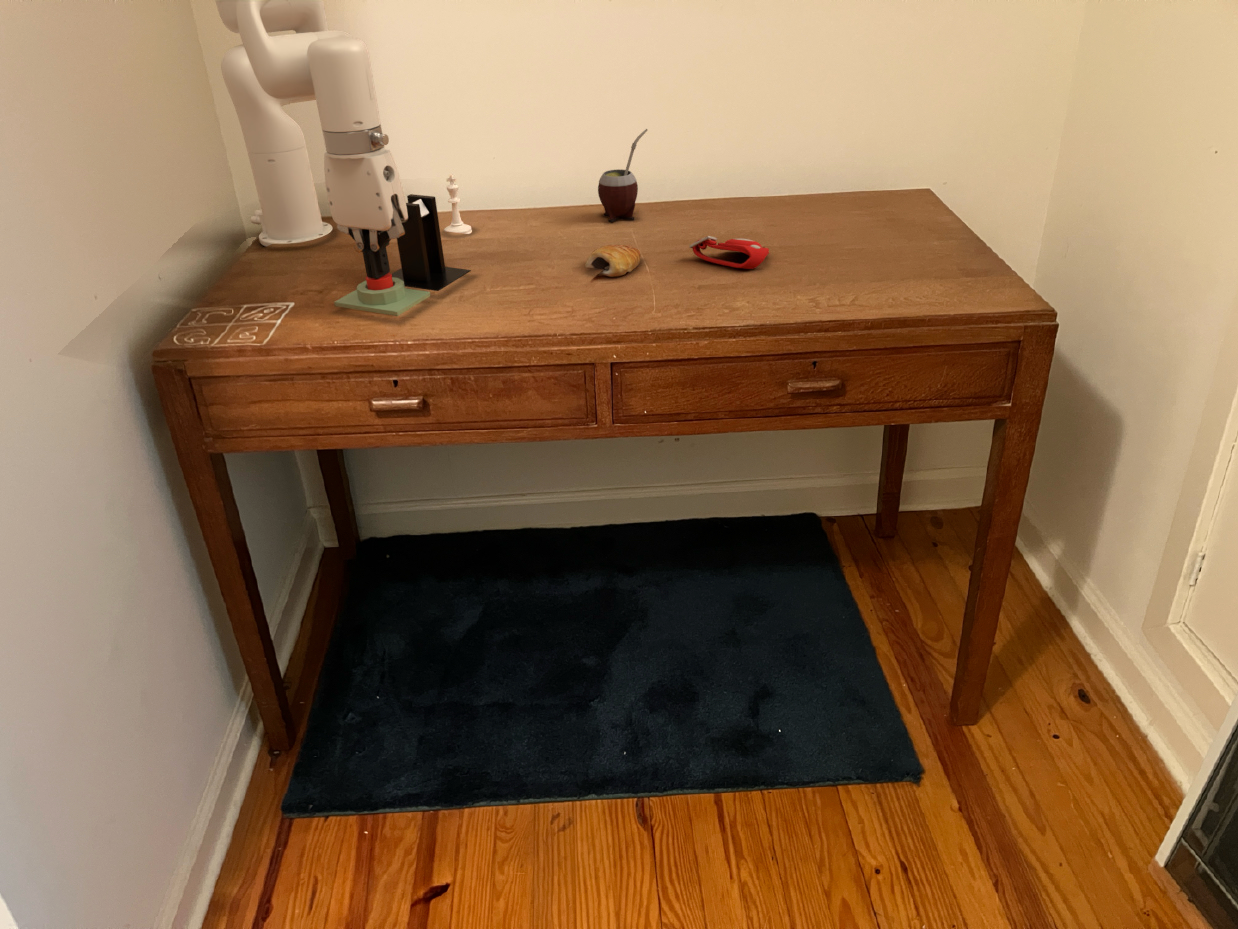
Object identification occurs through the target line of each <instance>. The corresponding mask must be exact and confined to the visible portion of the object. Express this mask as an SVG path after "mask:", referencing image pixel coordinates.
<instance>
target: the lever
mask: <svg viewBox="0 0 1238 929" xmlns="http://www.w3.org/2000/svg"><path fill="white" fill-rule="evenodd" d="M413 204H419V205H420V211H421V218H423V217H425V216H426V215H428V214H429V211H428V210H427V208H426V207H425V205H424V203H423V202H422V200H421V199H419V200H417V201H415V202H413ZM379 234H380V233H379ZM353 250H355V252H356V253H358V254H360V253H362V250H360V249H358V247H357V245H356V244H355V245H354V246H353Z"/></svg>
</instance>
